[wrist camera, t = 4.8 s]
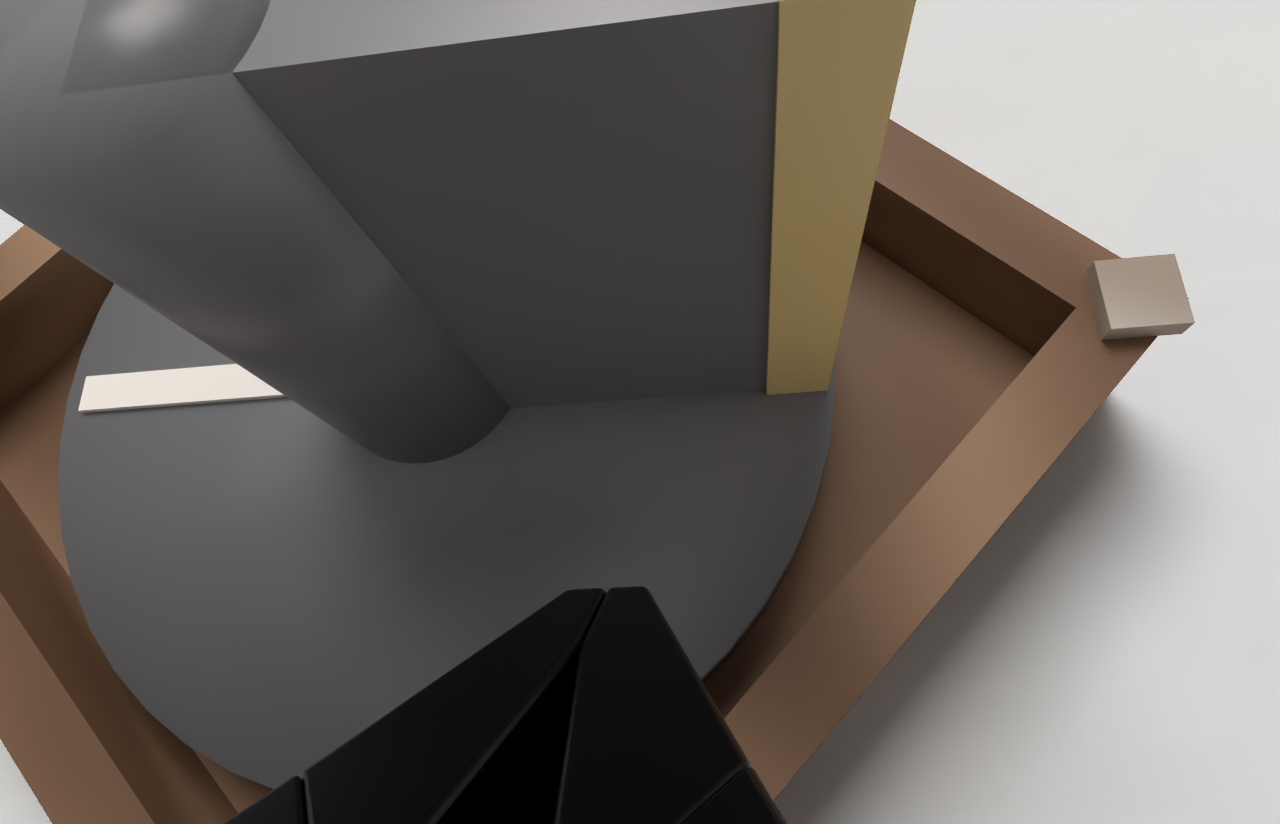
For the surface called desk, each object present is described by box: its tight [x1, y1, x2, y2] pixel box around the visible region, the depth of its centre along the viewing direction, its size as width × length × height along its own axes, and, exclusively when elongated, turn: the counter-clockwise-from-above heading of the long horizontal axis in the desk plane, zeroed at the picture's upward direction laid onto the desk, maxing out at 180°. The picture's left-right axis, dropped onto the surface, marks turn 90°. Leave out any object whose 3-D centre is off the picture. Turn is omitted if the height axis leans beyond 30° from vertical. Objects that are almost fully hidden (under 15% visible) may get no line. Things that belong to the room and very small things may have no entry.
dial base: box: [0, 119, 1195, 824], centre depth 16 cm, size 18×18×4 cm
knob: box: [0, 0, 916, 789], centre depth 11 cm, size 14×14×10 cm
